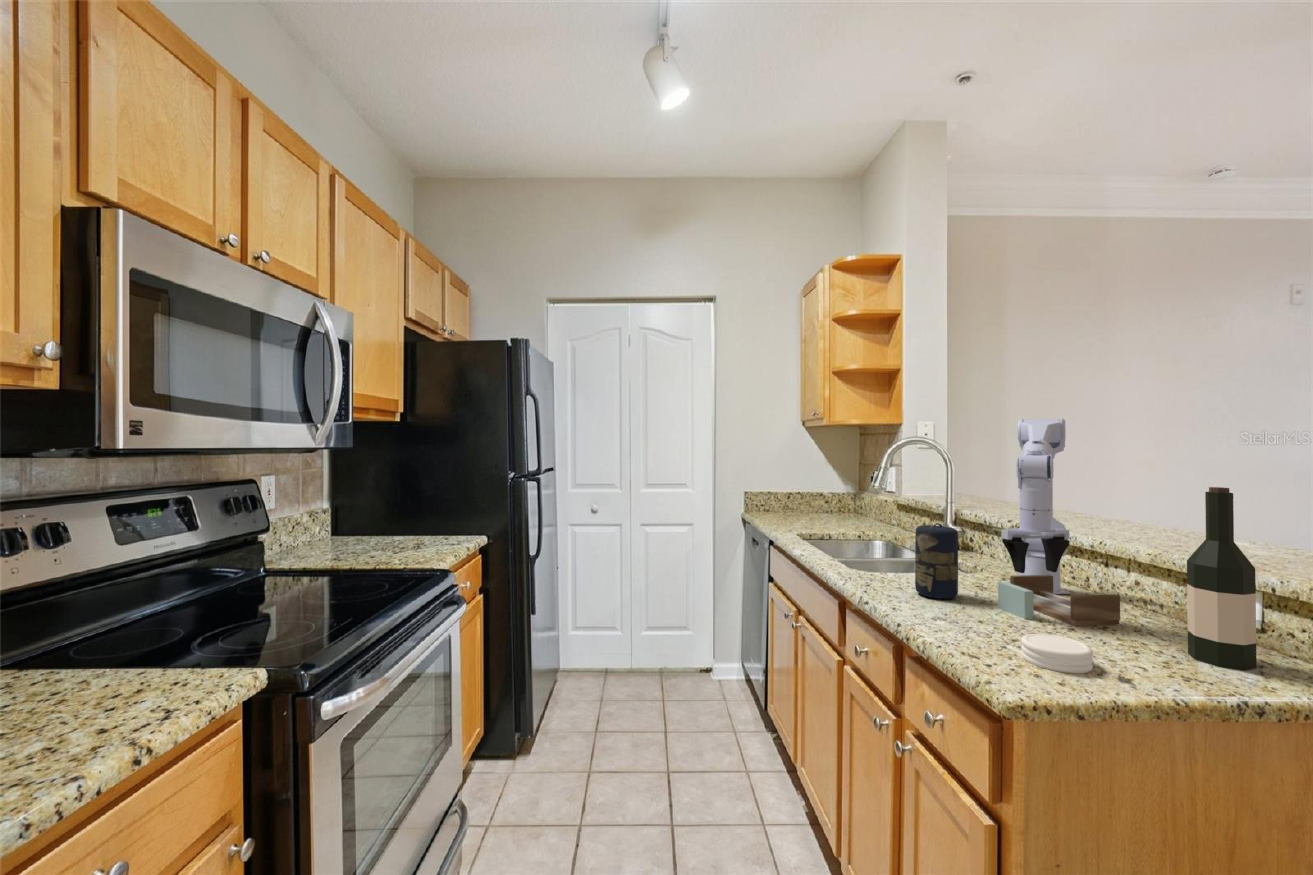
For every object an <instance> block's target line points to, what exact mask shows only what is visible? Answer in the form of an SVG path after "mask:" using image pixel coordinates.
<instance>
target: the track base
mask: <svg viewBox="0 0 1313 875" xmlns="http://www.w3.org/2000/svg"><path fill="white" fill-rule="evenodd" d="M1009 578H1010V579H1009V583H1011V584H1013V585H1016V586H1019V587H1022V588H1025V589H1028V590H1031V591H1033V611H1036V612H1039V613H1040V614H1043V615H1046V616H1049V617H1052V618H1054V619H1056V620H1059V621H1062V622H1064V623H1066V624H1068V625H1071V626H1074V627H1081V626H1112V625H1113V626H1114V625H1118V626H1119V625H1120V621H1121V596H1120V595H1118V594H1111V593H1110V594H1108V593H1107V594H1077V595H1076V594H1075V595H1074V594H1073V595H1070V598H1067V597H1065V596H1064V597H1063V596H1061V595H1059V594H1053V576H1051V575H1020V576H1017V575H1010V576H1009Z"/></svg>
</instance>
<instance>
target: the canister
mask: <svg viewBox="0 0 1313 875" xmlns="http://www.w3.org/2000/svg"><path fill="white" fill-rule="evenodd" d="M914 539H915V541H914V542H915V546H914V550H915V551H914V564H915V565H914V574H915V575H914V576H915V577H914V581H915V582H914V585H915V587H914V588H915V591H916V592H917V593H918V594H920V595H922V596H925V597H929V598H935V599H953V598H954V599H955V597H957V596H958V595H959V532H958V530H957V529H956V528H954V527H951V526H944V525H942V524H941V523H939V522H936V523H934V524H933V525H932V524H931V525H930V524H927V525H925V524H924V525H923V524H922V525H919V526H917V527H916V528H915V538H914Z"/></svg>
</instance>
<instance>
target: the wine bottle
mask: <svg viewBox="0 0 1313 875" xmlns="http://www.w3.org/2000/svg"><path fill="white" fill-rule="evenodd" d="M1204 496H1205V498H1204V499H1205V503H1204V505H1205V539H1204V541H1203V542H1202V543H1201V544H1200V545H1199V546H1198V547H1197V548H1196V549H1195V550H1194V552H1193V553H1192V554H1191V555H1190V556H1189V557H1188V558H1187V560H1186V594H1187V595H1186V596H1187V597H1186V599H1187V600H1186V601H1187V602H1186V603H1187V604H1186V605H1187V606H1186V608H1187V618H1186V619H1187V654H1188V655H1189V656H1190V657H1191V658H1192V659H1194V661H1198V662H1201V663H1203V664H1208V665H1211V664H1212V666H1214V665H1215V667H1217V668H1226V669H1231V668H1232V669H1231V670H1238V669H1239V670H1240V671H1249V670H1255V669H1257V668H1258V667H1257V665H1258V664H1257V663H1258V662H1257V661H1258V660H1257V592H1256V589H1257V588H1256V586H1257V585H1256V567H1255V566H1254V565H1253V563H1252V562H1251V561H1250V560H1249V559H1248V557H1247V556H1246V555H1245V554H1244V552H1243V551H1242V550H1241V549H1240V548H1239V547H1238V545H1237V544H1236V542H1235V540H1234V538H1235V534H1234V532H1235V530H1234V529H1235V528H1234V526H1235V524H1234V523H1235V522H1234V518H1235V517H1234V493H1233V492H1230V488H1229V487H1219V486H1218V487H1217V486H1216V487H1214V486H1209V487H1208V491H1205V495H1204Z"/></svg>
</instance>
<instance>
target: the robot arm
mask: <svg viewBox="0 0 1313 875" xmlns="http://www.w3.org/2000/svg"><path fill="white" fill-rule="evenodd" d="M1017 440H1018V443H1019V447H1020V448H1021V454H1020V456H1021V457H1017V458H1016V466H1015V468H1016V477H1017V484H1018V485H1017V487H1018V489H1019V527H1018V528H1007V529H1006V528H1005V529H1001V531H1000V532H1001V542H1002V544H1003V546H1004V547H1005V548H1006V550H1007V552H1008V555H1009V557H1010V559H1011V561H1012V562H1011V563H1012V565H1013V570H1014V572H1016V576H1020V575H1051V576H1053V594H1055V595H1069V594H1070V591H1068V590H1065V589H1061V560H1062V557H1065V556H1066V555H1067V552H1068V551H1067V549H1068V548H1069V546H1070V544H1071V542H1070V529H1066V526H1065V525H1064V524H1063V523H1062V522H1060V521H1059V520H1057V519H1056V518H1054V516H1053V514H1054V513H1053V510H1054V509H1053V505H1054V504H1053V502H1054V501H1053V500H1054V499H1053V498H1054V496H1053V494H1054V493H1053V492H1054V491H1053V488H1054V487H1053V484H1054V483H1053V482H1054V480H1053V479H1054V459H1055V456H1056V454H1058V453H1061V452H1063V451H1064V448H1065V447H1066V420H1065V419H1064V418H1063V417H1060V418H1037V419H1036V418H1035V419H1034V418H1033V419H1024V418H1020V419H1019V420H1018V422H1017ZM1068 539H1069V540H1068Z"/></svg>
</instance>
